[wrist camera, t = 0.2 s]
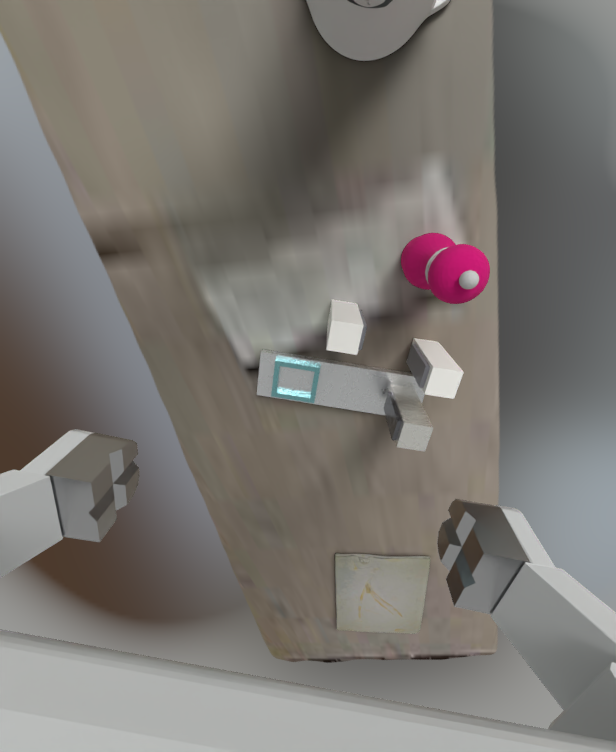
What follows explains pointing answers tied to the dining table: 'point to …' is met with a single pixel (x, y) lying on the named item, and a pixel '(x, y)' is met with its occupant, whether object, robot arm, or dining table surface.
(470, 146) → the dining table surface
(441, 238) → the pepper mill
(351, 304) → the tall white upright block
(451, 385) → the block
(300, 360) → the rail
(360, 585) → the decorative slab
